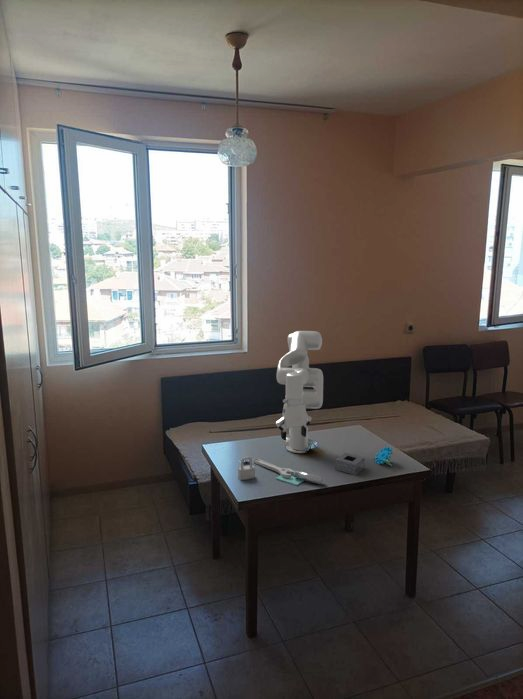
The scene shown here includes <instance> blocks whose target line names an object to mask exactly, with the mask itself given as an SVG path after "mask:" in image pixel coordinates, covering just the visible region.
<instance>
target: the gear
mask: <svg viewBox="0 0 523 699" xmlns="http://www.w3.org/2000/svg"><path fill="white" fill-rule="evenodd" d="M375 455H376V456H374V461H375V463H376V464H378V465H384V463H386V464H387V465H389V466H390V467H393V464H392V463H391V458H392V456H391V455H393V449H392V448H391V447H390V446H384V447H383V449H379V452H377V453H376V454H375Z"/></svg>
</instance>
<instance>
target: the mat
mask: <svg viewBox="0 0 523 699" xmlns="http://www.w3.org/2000/svg"><path fill="white" fill-rule="evenodd" d="M293 471H294V474H295V471H296V470H293ZM288 474H289V473H288ZM275 479H276V480H277V481H280V482H284V483H287V484H289V485H294V486H296V487H298V486H299V485H300V484H303V482H305V480H301V479H298V478H295V477H294V475H292V474H291V478H285V477H282V476H281V475H280V474H279V475H278V476H277V477H275Z"/></svg>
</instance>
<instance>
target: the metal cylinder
mask: <svg viewBox="0 0 523 699" xmlns="http://www.w3.org/2000/svg"><path fill="white" fill-rule="evenodd" d="M294 471H295V474H294V477H295V478H298V479H301V480H305V481H306V482H309V483H313V484H317V485H320V486H321V485H322V484H323V482H324V481H323V480H324V477H323V476H320V475H316V474H314V473H309V472H305V471H301V470H298V469H296V470H294ZM305 481H304V482H305Z"/></svg>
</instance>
